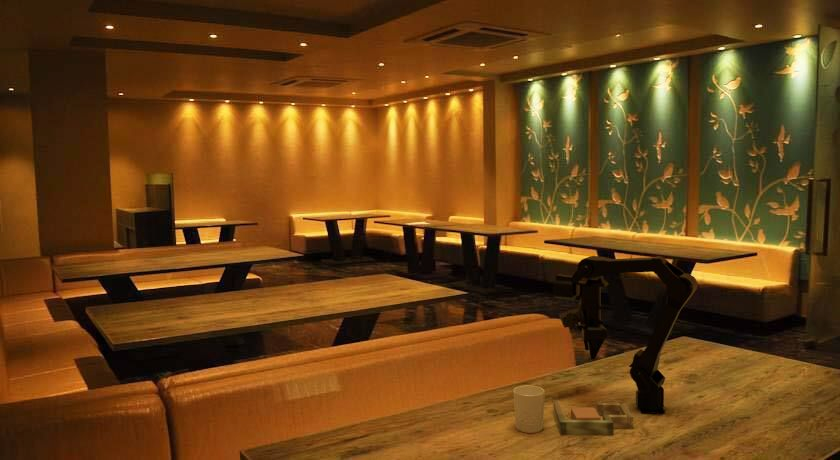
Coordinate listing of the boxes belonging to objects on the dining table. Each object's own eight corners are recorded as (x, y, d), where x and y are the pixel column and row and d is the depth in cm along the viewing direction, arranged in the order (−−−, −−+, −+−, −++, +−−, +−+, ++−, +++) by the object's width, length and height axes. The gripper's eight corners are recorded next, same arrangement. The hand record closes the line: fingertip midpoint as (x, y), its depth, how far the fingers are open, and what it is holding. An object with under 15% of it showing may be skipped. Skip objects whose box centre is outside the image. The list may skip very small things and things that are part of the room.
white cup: (544, 435, 167) (544, 396, 166) (512, 433, 168) (512, 394, 167) (544, 423, 174) (544, 386, 173) (514, 421, 176) (514, 384, 175)
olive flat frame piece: (623, 411, 181) (623, 400, 181) (636, 435, 165) (637, 422, 165) (553, 411, 183) (553, 399, 182) (560, 434, 167) (560, 421, 167)
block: (593, 422, 175) (593, 407, 175) (600, 432, 168) (600, 417, 168) (570, 422, 175) (570, 407, 175) (576, 433, 168) (576, 417, 168)
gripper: (557, 294, 199) (557, 345, 200) (565, 308, 180) (565, 364, 182) (595, 294, 198) (595, 345, 199) (607, 308, 179) (607, 364, 181)
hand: (589, 354), depth 190 cm, fingers open, 9 cm apart
